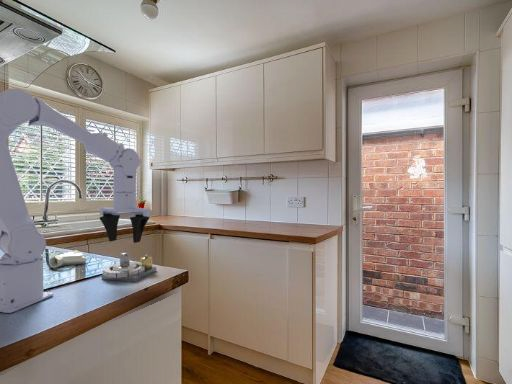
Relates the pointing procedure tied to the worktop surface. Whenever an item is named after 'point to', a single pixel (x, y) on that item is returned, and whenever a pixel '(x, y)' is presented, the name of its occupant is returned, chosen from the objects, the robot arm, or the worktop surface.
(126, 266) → the silver stemmed round piece
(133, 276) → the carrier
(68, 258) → the pipe fitting
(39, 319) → the worktop surface
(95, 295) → the worktop surface
